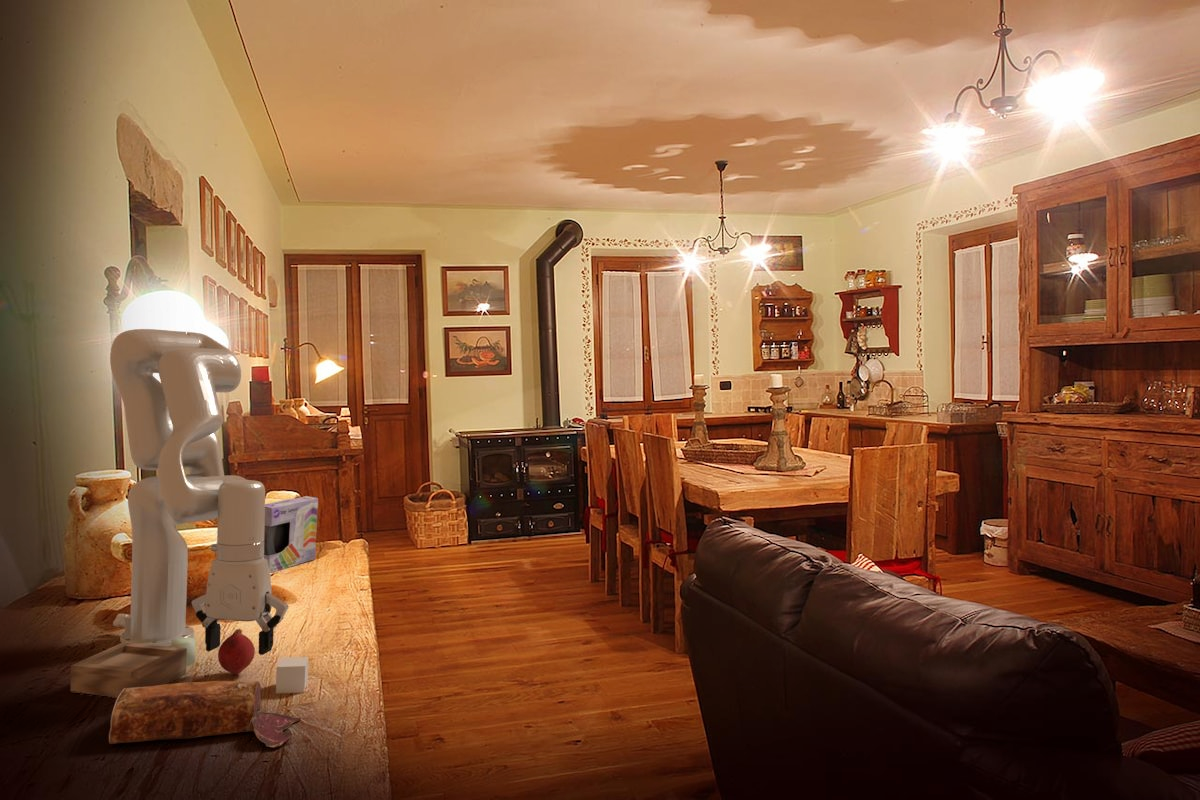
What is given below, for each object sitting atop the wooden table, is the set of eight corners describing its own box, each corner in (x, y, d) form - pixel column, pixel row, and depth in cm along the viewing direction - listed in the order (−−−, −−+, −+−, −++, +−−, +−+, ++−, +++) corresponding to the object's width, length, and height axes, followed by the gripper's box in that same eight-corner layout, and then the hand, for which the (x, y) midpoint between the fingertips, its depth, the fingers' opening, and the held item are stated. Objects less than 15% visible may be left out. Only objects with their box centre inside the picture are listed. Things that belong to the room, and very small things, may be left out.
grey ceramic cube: (275, 693, 139) (276, 666, 138) (279, 683, 143) (280, 657, 143) (304, 692, 140) (305, 666, 139) (307, 682, 144) (308, 657, 144)
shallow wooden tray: (70, 693, 135) (71, 665, 134) (122, 667, 146) (123, 642, 146) (138, 700, 133) (139, 672, 133) (185, 674, 145) (186, 648, 145)
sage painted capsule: (165, 665, 149) (165, 643, 148) (179, 658, 153) (180, 636, 152) (186, 667, 148) (186, 645, 148) (199, 660, 152) (200, 638, 152)
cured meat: (297, 750, 119) (299, 702, 119) (99, 766, 112) (100, 715, 112) (304, 703, 136) (306, 662, 136) (132, 714, 129) (134, 670, 129)
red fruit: (240, 682, 142) (241, 636, 142) (210, 678, 143) (211, 632, 143) (260, 671, 148) (262, 626, 148) (231, 667, 149) (233, 622, 149)
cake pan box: (266, 574, 214) (269, 506, 214) (251, 572, 216) (254, 504, 216) (317, 560, 232) (319, 497, 232) (302, 558, 234) (305, 495, 233)
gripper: (180, 553, 142) (179, 654, 143) (276, 558, 140) (274, 660, 140) (207, 545, 150) (205, 641, 150) (298, 550, 148) (296, 647, 148)
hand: (239, 650), depth 145 cm, fingers open, 9 cm apart
